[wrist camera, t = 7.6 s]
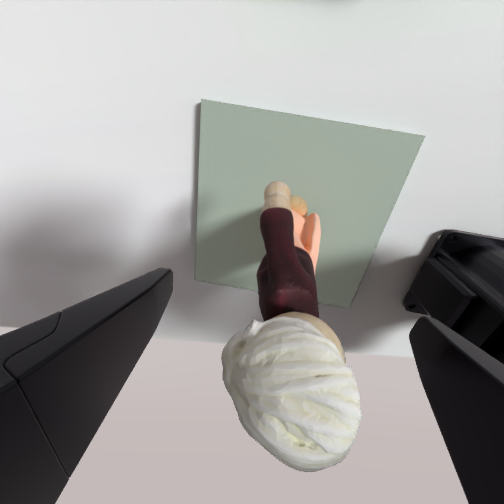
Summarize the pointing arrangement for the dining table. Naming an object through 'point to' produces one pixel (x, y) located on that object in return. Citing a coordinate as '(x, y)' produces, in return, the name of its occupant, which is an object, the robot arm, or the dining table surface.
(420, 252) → the dining table surface
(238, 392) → the grandmother figurine
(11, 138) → the dining table surface
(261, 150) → the sage mat
